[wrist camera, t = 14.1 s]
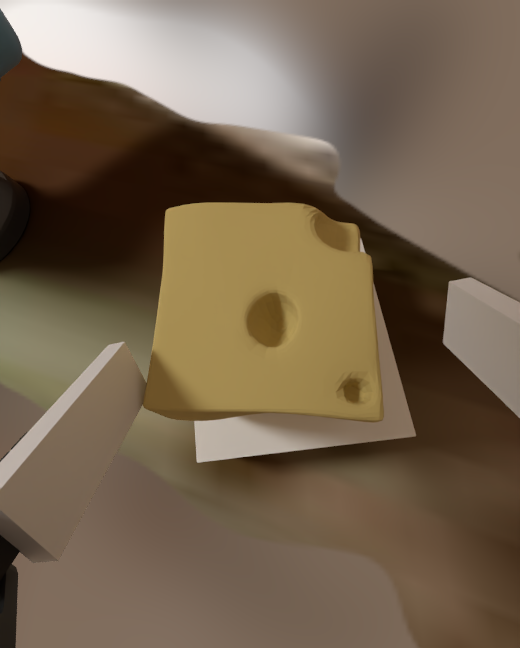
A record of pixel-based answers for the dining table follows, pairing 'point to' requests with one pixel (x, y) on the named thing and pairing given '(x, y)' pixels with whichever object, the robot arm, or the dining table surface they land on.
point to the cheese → (264, 316)
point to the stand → (310, 420)
